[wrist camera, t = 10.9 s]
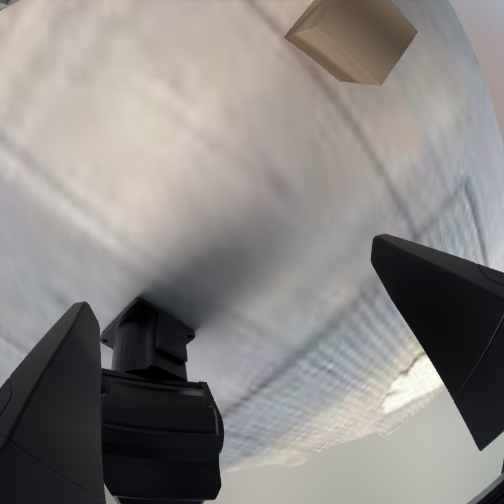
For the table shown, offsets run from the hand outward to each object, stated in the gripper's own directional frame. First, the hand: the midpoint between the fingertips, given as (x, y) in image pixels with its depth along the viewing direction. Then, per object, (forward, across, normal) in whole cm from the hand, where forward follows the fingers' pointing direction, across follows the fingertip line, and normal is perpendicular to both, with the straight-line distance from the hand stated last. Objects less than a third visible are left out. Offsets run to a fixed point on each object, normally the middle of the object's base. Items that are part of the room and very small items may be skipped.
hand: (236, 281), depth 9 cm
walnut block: (+13, -10, -8) cm, 18 cm away
